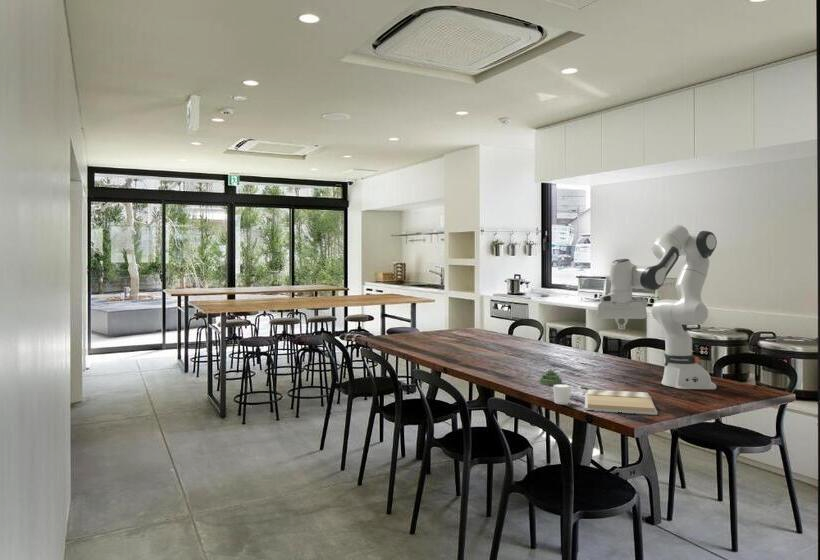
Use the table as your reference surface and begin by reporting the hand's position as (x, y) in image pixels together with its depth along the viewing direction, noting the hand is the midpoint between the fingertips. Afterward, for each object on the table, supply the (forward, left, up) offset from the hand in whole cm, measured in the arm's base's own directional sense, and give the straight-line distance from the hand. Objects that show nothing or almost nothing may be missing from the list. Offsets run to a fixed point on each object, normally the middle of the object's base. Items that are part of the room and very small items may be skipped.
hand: (621, 329), depth 248 cm
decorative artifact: (+31, -14, -29) cm, 44 cm away
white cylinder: (+24, +22, -28) cm, 43 cm away
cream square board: (+2, +19, -28) cm, 34 cm away
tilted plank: (+2, +12, -27) cm, 29 cm away
